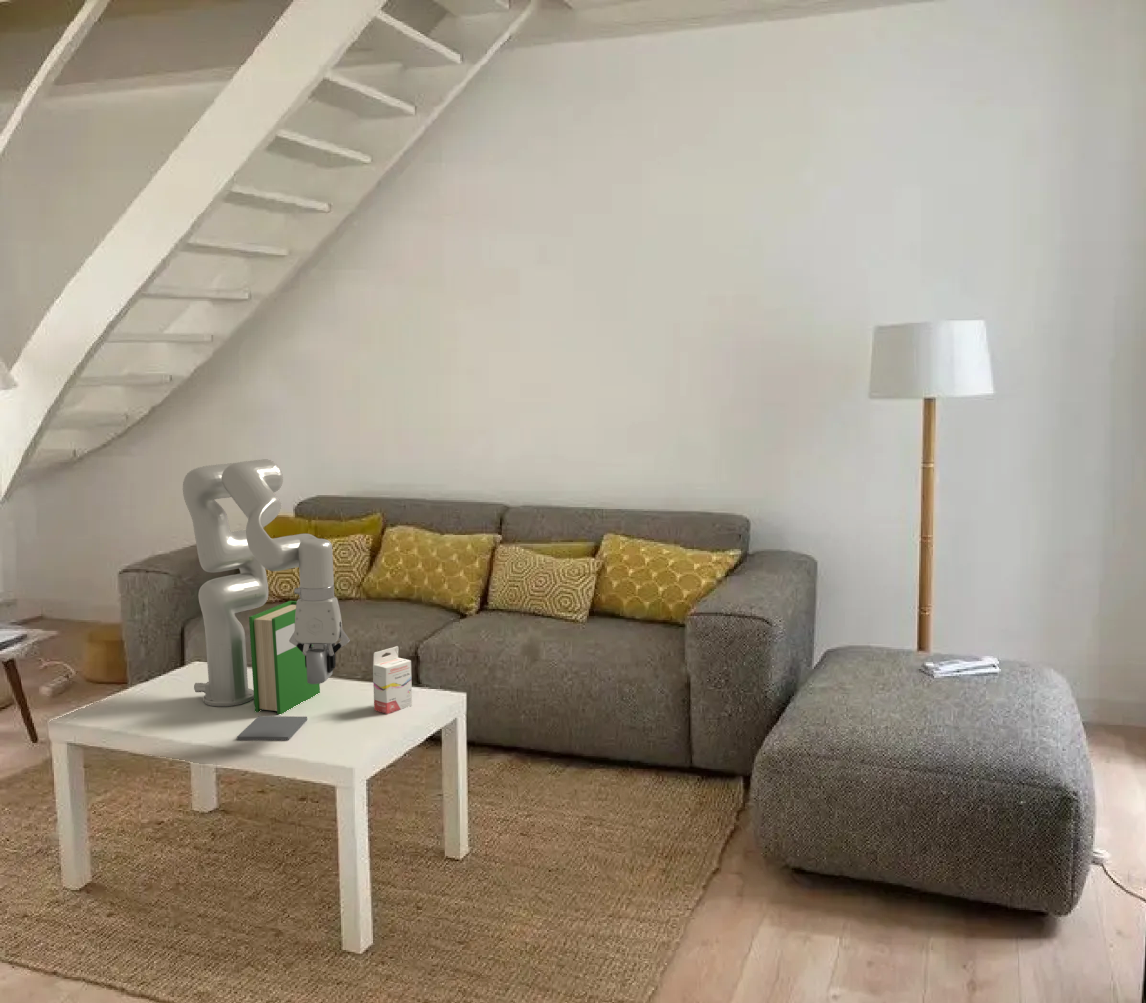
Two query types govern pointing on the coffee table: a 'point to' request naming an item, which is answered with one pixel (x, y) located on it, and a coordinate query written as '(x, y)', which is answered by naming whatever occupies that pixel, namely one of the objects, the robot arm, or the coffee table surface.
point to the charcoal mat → (272, 728)
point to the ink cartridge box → (391, 681)
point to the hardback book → (278, 661)
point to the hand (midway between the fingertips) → (320, 670)
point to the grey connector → (317, 664)
